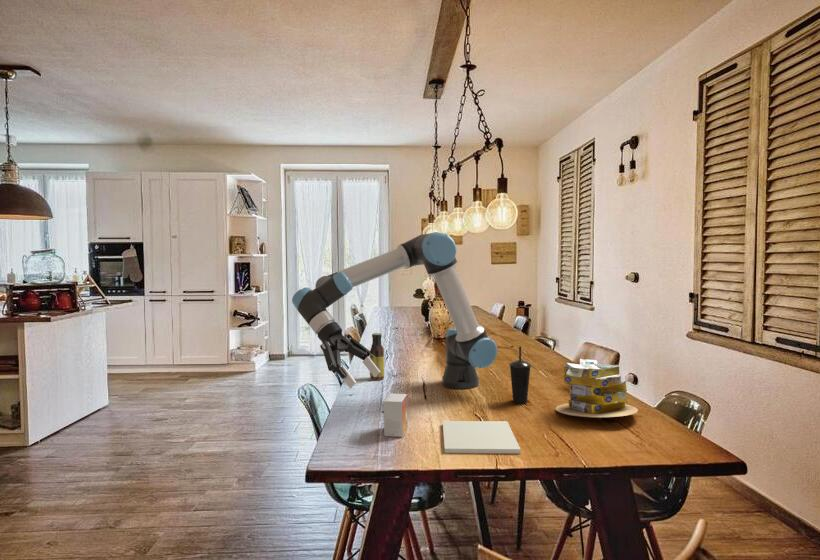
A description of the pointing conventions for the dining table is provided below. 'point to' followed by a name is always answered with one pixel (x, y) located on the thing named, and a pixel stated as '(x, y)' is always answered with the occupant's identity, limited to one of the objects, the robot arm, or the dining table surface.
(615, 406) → the stacked boxes on plate
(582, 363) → the light bulb box
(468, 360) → the robot arm
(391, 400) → the small box
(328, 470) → the dining table surface
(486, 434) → the white square board
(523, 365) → the drinking cup
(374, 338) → the sauce bottle
